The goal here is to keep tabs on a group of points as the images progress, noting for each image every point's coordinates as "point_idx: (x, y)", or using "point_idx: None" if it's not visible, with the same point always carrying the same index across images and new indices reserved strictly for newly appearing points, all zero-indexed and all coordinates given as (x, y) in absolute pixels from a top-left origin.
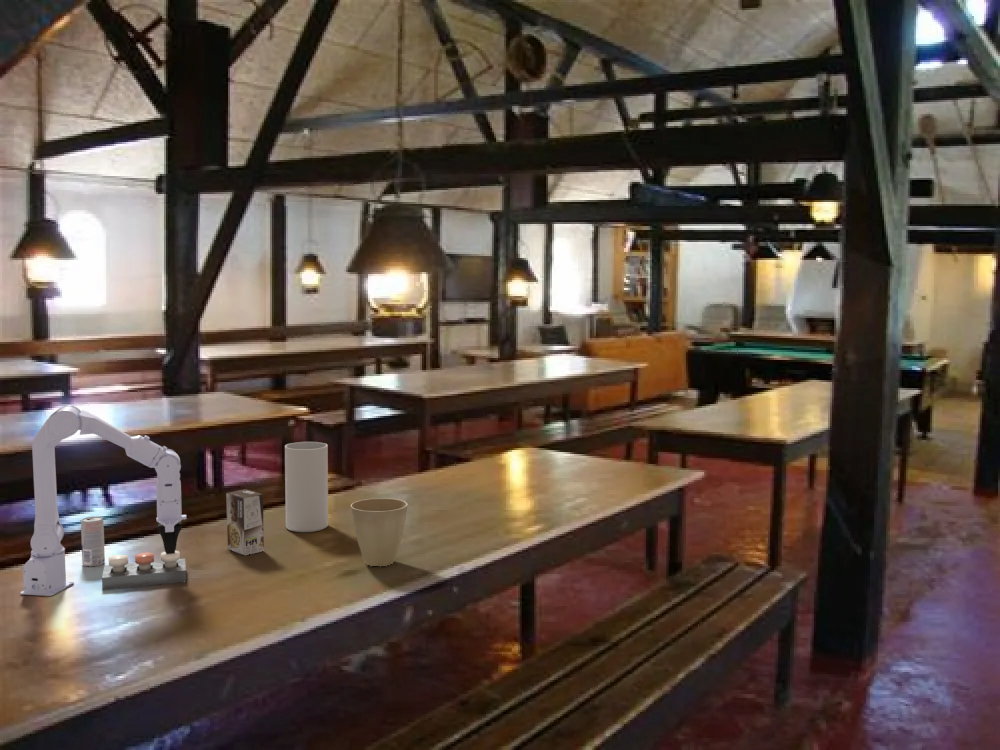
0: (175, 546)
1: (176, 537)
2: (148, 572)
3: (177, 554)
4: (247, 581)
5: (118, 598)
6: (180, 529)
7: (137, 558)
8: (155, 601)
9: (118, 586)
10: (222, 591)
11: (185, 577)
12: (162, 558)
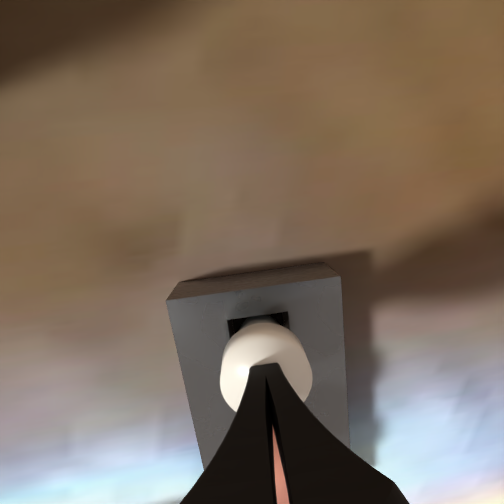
0: (290, 385)
1: (327, 435)
2: (334, 403)
3: (291, 345)
4: (374, 5)
5: (422, 424)
6: (397, 491)
7: None
8: (485, 327)
9: None
10: (466, 114)
11: (330, 268)
12: None
